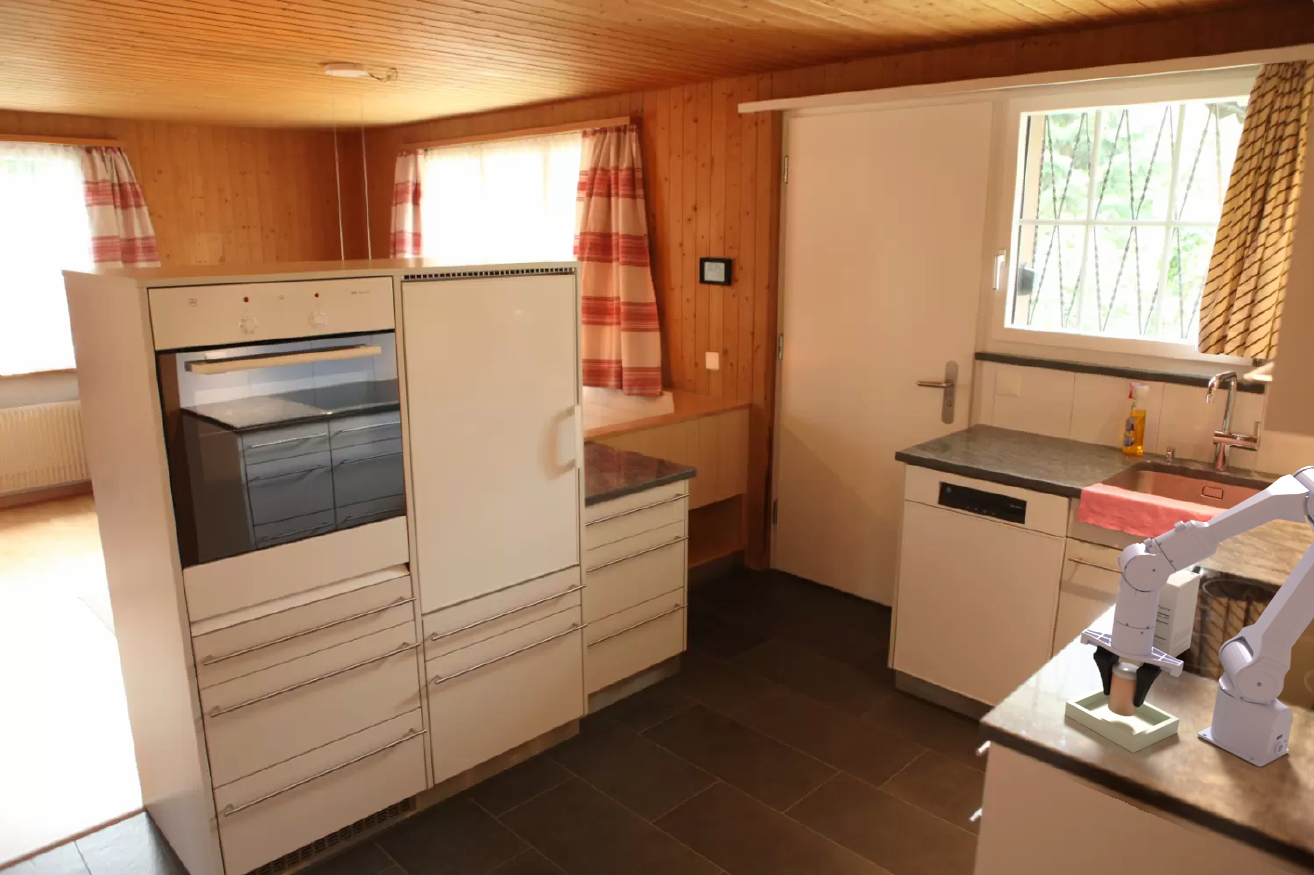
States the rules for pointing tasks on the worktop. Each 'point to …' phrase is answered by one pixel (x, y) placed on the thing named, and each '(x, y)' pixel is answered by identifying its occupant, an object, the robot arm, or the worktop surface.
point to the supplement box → (1176, 613)
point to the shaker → (1123, 689)
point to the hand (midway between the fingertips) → (1123, 698)
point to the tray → (1122, 721)
